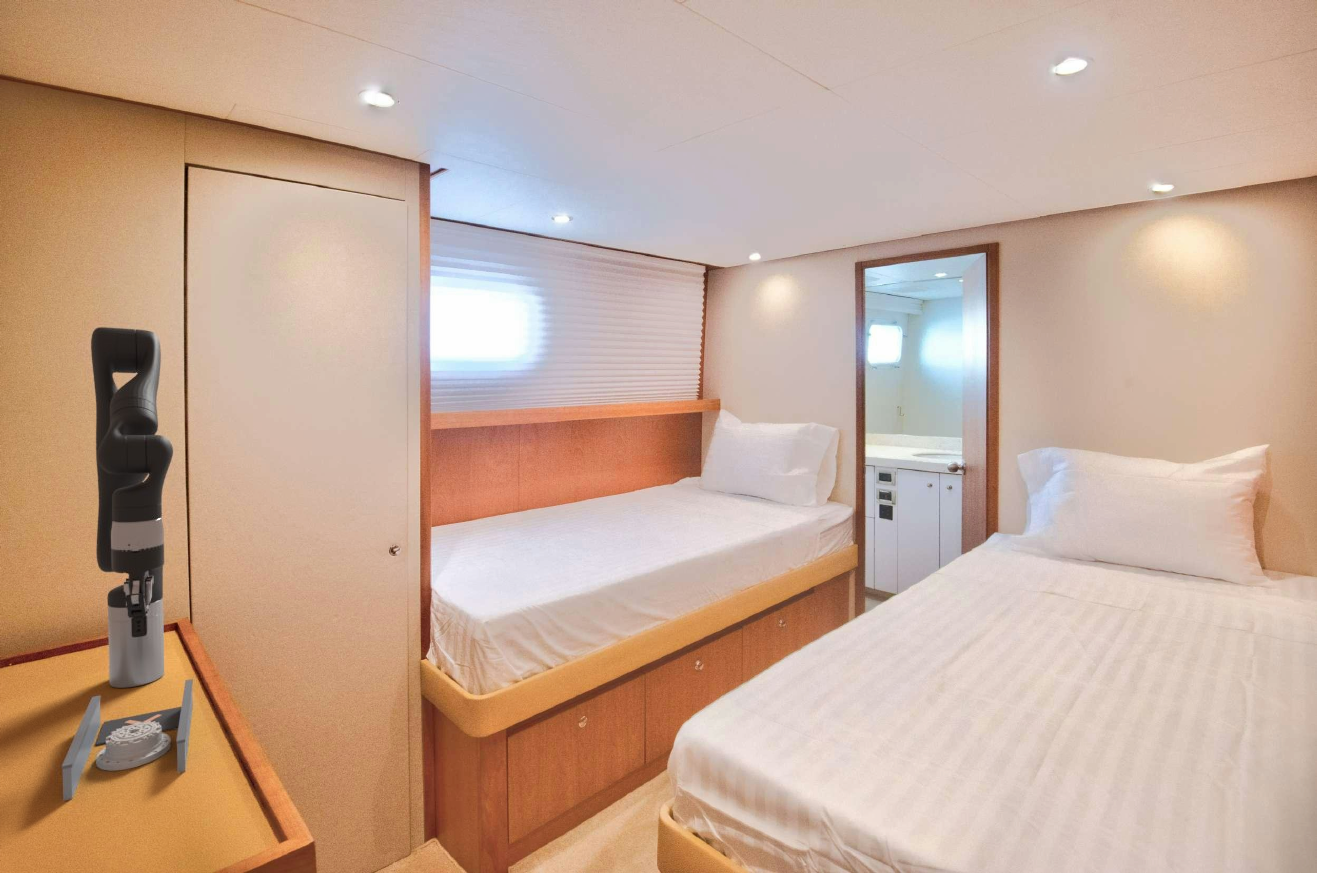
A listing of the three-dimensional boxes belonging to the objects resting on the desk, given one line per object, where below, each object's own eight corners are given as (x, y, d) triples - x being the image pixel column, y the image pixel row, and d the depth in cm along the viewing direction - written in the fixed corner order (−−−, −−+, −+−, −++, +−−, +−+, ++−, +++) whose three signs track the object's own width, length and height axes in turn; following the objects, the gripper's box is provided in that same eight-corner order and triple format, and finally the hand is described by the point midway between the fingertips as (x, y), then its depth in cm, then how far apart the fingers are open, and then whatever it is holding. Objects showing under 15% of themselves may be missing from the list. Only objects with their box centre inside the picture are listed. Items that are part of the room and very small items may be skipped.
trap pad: (104, 723, 120) (104, 721, 120) (183, 707, 127) (183, 705, 127) (95, 745, 113) (95, 743, 113) (180, 727, 119) (180, 725, 119)
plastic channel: (92, 725, 119) (92, 696, 119) (193, 705, 128) (193, 678, 127) (62, 801, 98) (61, 766, 97) (185, 771, 106) (185, 739, 106)
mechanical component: (80, 767, 107) (128, 776, 105) (79, 742, 106) (128, 750, 104) (139, 736, 116) (185, 744, 114) (139, 713, 116) (184, 720, 114)
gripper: (116, 538, 120) (118, 628, 121) (105, 553, 109) (107, 652, 111) (166, 534, 125) (168, 621, 126) (160, 548, 114) (162, 643, 115)
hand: (139, 635), depth 118 cm, fingers closed
